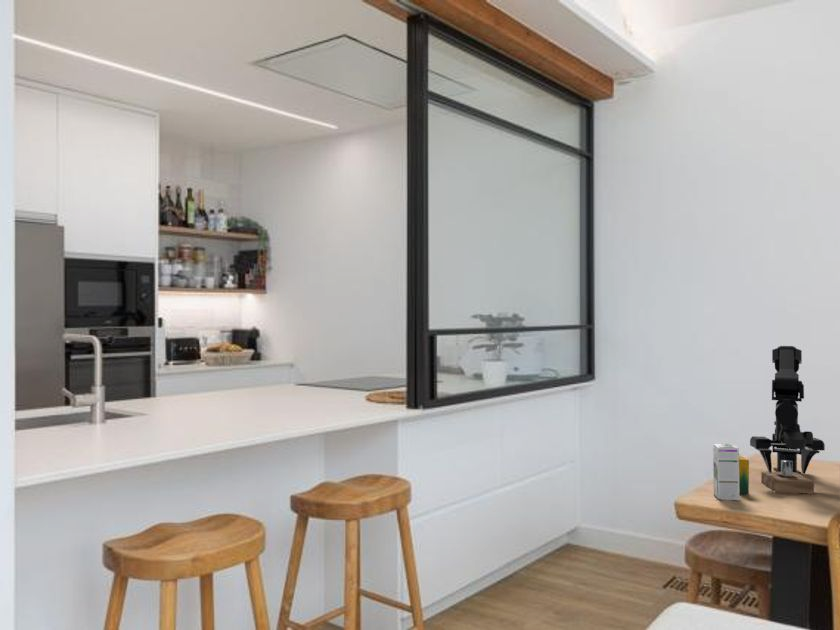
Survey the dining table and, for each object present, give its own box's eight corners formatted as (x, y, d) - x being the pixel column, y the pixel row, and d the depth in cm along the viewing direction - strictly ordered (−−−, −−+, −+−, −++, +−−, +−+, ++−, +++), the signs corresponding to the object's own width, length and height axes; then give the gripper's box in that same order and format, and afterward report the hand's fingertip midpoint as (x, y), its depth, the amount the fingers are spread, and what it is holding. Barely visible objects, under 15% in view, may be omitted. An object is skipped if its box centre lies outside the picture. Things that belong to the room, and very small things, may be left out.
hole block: (761, 483, 210) (761, 471, 210) (796, 484, 208) (796, 472, 208) (776, 492, 198) (776, 480, 198) (813, 494, 196) (813, 481, 196)
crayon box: (749, 495, 195) (749, 453, 195) (738, 494, 196) (738, 453, 196) (740, 488, 202) (740, 448, 203) (729, 488, 203) (730, 448, 203)
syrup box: (740, 501, 188) (740, 447, 189) (717, 499, 190) (717, 446, 190) (735, 496, 194) (735, 443, 194) (712, 494, 195) (712, 443, 195)
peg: (779, 487, 205) (779, 459, 205) (790, 487, 204) (790, 460, 204) (783, 489, 202) (783, 461, 202) (794, 489, 201) (794, 462, 201)
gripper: (762, 422, 196) (763, 478, 196) (833, 424, 194) (833, 480, 194) (749, 417, 207) (749, 469, 207) (816, 418, 205) (816, 471, 205)
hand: (786, 472), depth 203 cm, fingers open, 9 cm apart
